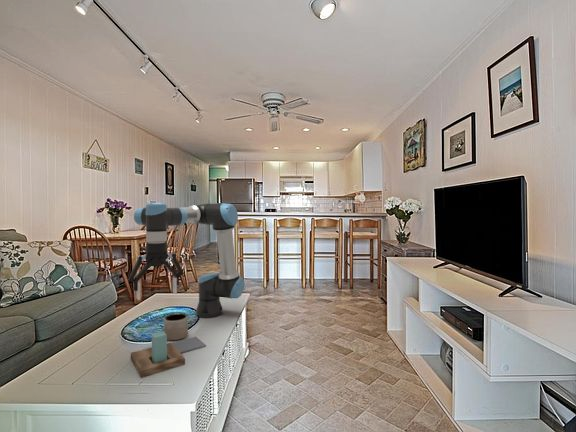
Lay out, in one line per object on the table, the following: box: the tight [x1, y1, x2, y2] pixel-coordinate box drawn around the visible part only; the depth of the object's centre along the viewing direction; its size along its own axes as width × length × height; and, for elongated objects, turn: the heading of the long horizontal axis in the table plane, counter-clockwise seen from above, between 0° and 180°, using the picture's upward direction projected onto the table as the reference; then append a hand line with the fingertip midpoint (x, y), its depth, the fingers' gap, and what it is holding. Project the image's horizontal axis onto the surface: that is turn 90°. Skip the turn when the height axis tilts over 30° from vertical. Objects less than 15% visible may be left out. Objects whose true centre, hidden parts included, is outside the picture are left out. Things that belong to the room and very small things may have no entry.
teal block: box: [150, 330, 168, 364], centre depth 124 cm, size 4×4×12 cm
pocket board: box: [130, 342, 186, 379], centre depth 126 cm, size 16×18×2 cm
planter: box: [163, 312, 189, 342], centre depth 151 cm, size 11×11×10 cm
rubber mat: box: [170, 336, 207, 354], centre depth 141 cm, size 12×12×1 cm
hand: (157, 296), depth 123 cm, fingers open, 13 cm apart
